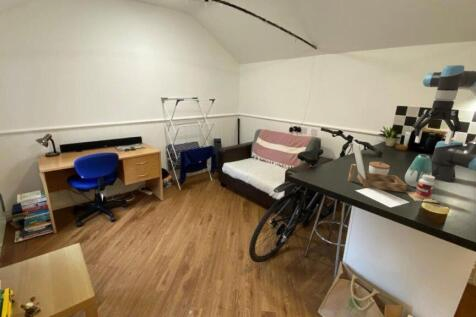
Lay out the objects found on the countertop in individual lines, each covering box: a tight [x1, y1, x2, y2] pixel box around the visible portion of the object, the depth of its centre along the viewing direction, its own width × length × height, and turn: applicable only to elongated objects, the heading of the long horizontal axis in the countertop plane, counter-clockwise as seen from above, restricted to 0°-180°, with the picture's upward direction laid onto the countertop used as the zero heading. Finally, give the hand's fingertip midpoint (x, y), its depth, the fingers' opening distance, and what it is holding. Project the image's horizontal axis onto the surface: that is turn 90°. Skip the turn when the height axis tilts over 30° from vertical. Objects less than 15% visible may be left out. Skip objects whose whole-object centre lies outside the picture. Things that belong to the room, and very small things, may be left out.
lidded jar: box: [368, 161, 391, 175], centre depth 138 cm, size 11×11×9 cm
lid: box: [351, 140, 366, 179], centre depth 126 cm, size 19×13×1 cm
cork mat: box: [405, 190, 436, 203], centre depth 113 cm, size 10×10×1 cm
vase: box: [404, 153, 432, 189], centre depth 125 cm, size 12×12×18 cm
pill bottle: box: [415, 175, 436, 199], centre depth 111 cm, size 6×6×11 cm
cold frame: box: [347, 163, 409, 193], centre depth 126 cm, size 26×14×10 cm, turn 78°
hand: (431, 143), depth 115 cm, fingers open, 13 cm apart
